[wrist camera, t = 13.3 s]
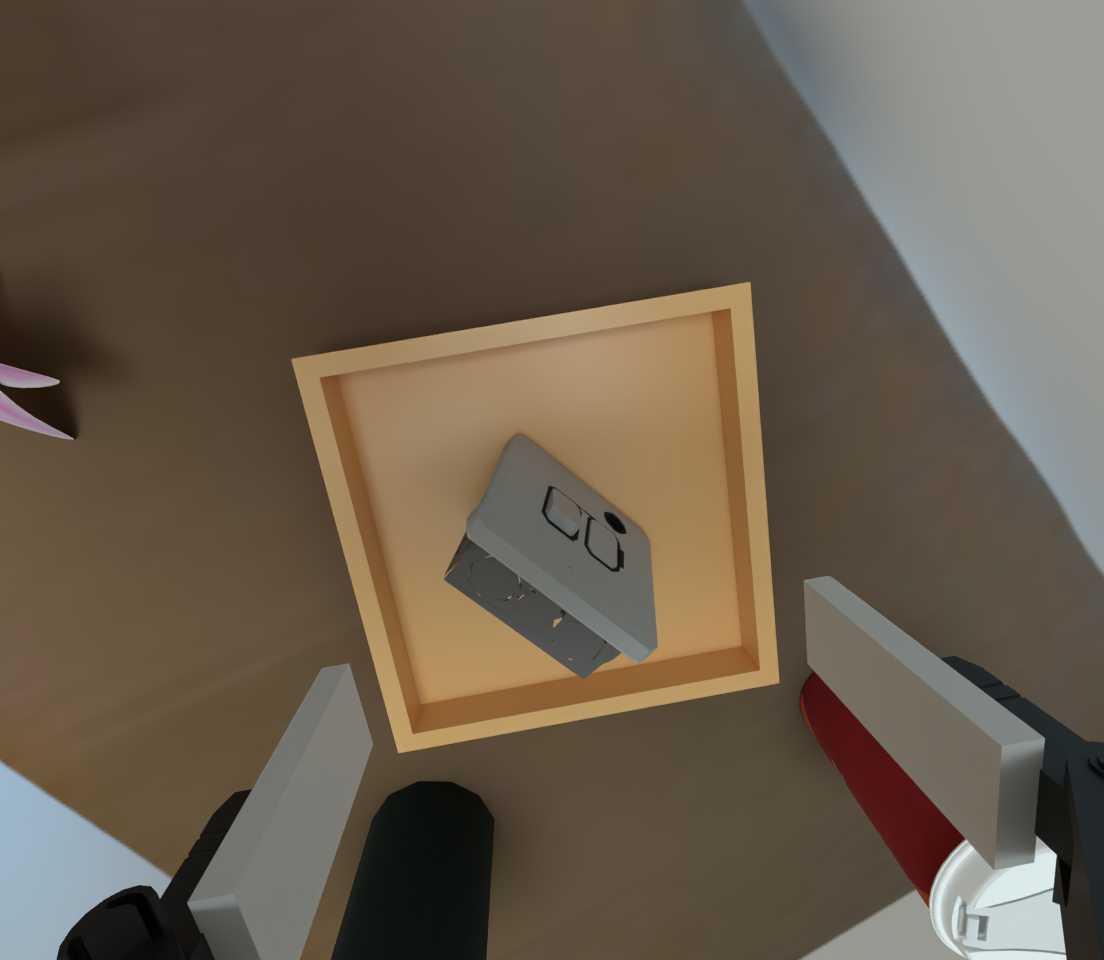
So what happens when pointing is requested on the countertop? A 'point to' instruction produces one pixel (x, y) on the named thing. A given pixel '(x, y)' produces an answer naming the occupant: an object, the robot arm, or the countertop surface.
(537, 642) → the electrical switch
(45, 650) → the countertop surface
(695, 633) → the wooden tray
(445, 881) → the wine bottle
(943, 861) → the paper cup
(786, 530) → the countertop surface
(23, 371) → the lily
